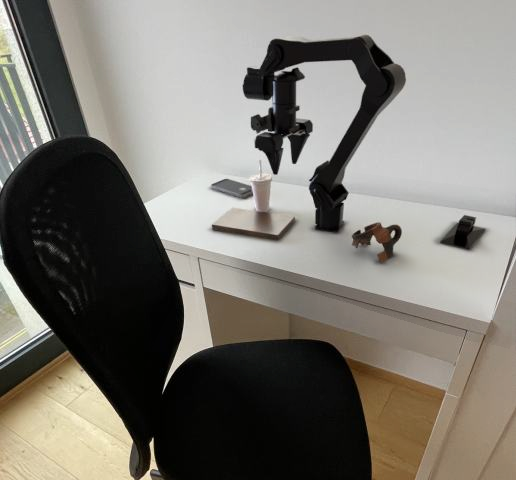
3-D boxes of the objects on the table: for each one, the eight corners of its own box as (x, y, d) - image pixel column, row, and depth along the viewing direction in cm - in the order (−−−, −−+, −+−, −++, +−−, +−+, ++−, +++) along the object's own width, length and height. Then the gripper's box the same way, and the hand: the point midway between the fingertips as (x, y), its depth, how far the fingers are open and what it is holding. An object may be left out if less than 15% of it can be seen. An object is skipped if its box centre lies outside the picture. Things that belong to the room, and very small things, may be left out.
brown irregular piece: (372, 270, 93) (358, 237, 90) (353, 268, 102) (341, 238, 99) (415, 245, 94) (403, 212, 91) (393, 245, 103) (382, 215, 100)
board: (295, 221, 113) (295, 216, 112) (278, 240, 106) (277, 235, 105) (232, 212, 121) (232, 207, 120) (212, 229, 113) (211, 224, 112)
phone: (209, 187, 136) (242, 198, 128) (209, 184, 136) (242, 195, 127) (226, 181, 140) (259, 191, 131) (226, 178, 140) (259, 188, 131)
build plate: (469, 250, 96) (474, 232, 93) (438, 242, 100) (442, 225, 97) (485, 229, 103) (490, 212, 100) (455, 223, 107) (460, 206, 104)
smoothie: (274, 205, 122) (272, 156, 113) (272, 214, 118) (270, 164, 108) (253, 206, 123) (249, 157, 114) (250, 215, 118) (246, 165, 109)
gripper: (277, 92, 107) (279, 154, 117) (234, 107, 96) (239, 175, 106) (314, 95, 101) (312, 160, 112) (273, 111, 90) (275, 182, 101)
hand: (285, 169), depth 108 cm, fingers open, 9 cm apart
